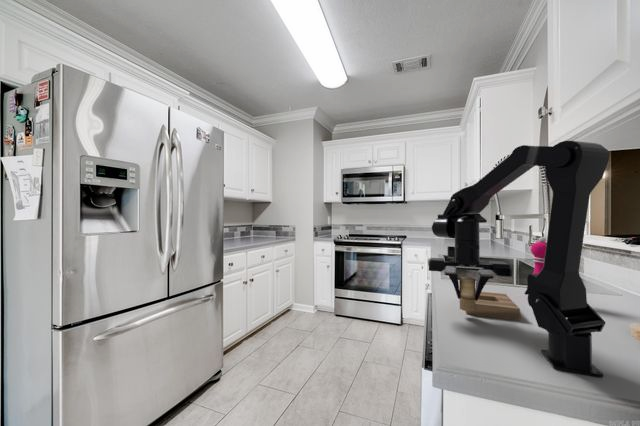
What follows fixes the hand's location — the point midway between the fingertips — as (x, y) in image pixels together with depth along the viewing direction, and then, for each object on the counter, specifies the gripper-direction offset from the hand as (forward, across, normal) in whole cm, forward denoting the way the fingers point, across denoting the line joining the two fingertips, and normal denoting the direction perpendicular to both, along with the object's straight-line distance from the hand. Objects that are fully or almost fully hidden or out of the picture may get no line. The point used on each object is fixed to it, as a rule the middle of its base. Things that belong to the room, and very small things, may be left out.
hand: (467, 299), depth 70 cm
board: (+5, -6, -10) cm, 13 cm away
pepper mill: (+5, -24, -26) cm, 36 cm away
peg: (+3, 0, 0) cm, 3 cm away
